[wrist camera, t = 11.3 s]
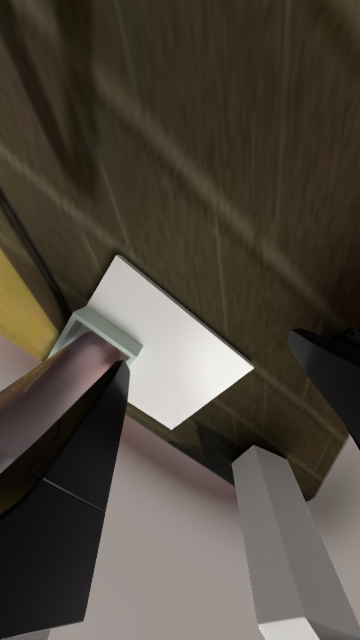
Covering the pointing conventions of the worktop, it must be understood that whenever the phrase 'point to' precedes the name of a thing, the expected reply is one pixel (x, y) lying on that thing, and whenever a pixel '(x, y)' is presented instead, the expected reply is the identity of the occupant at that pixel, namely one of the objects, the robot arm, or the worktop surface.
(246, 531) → the milk carton
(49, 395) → the beverage can
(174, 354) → the housing plate
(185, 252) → the worktop surface
